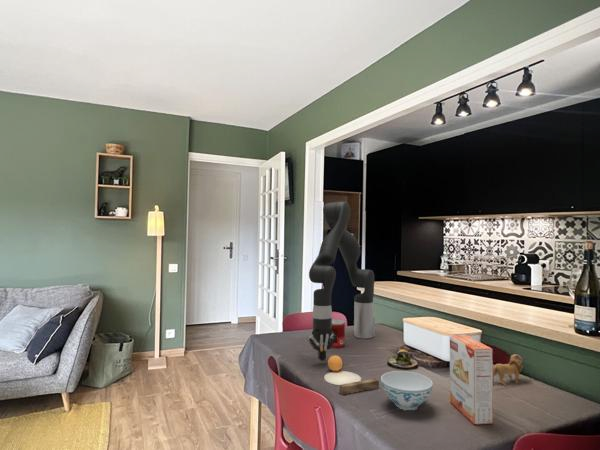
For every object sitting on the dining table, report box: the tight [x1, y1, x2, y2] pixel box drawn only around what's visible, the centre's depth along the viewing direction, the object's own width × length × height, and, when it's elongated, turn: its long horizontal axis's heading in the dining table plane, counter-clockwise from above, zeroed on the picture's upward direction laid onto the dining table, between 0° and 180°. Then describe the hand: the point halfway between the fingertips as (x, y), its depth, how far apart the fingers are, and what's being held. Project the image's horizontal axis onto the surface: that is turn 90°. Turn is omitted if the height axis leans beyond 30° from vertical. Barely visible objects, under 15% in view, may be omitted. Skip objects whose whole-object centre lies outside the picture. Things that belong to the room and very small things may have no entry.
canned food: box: [329, 319, 346, 349], centre depth 176 cm, size 8×8×11 cm
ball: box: [327, 355, 344, 372], centre depth 144 cm, size 6×6×6 cm
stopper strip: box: [338, 378, 380, 396], centre depth 127 cm, size 14×2×2 cm, turn 114°
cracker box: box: [449, 334, 494, 425], centre depth 111 cm, size 14×6×21 cm, turn 5°
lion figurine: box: [493, 353, 524, 386], centre depth 134 cm, size 15×5×9 cm, turn 116°
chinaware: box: [380, 370, 433, 411], centre depth 116 cm, size 15×15×8 cm
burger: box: [386, 348, 419, 369], centre depth 151 cm, size 12×12×8 cm
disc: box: [324, 370, 362, 386], centre depth 137 cm, size 13×13×1 cm
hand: (322, 360), depth 151 cm, fingers closed
